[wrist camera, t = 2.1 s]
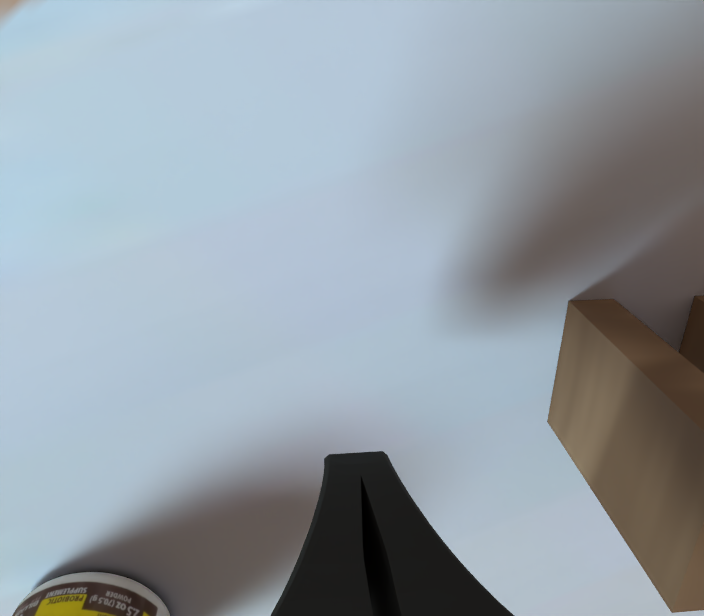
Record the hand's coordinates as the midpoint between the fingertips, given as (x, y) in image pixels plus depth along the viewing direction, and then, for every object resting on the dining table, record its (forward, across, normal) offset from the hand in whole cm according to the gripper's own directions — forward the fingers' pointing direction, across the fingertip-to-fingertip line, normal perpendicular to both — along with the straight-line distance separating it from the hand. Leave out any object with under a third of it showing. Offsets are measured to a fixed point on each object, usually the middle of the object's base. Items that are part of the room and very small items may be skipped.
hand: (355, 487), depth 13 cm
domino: (+5, -8, 0) cm, 9 cm away
